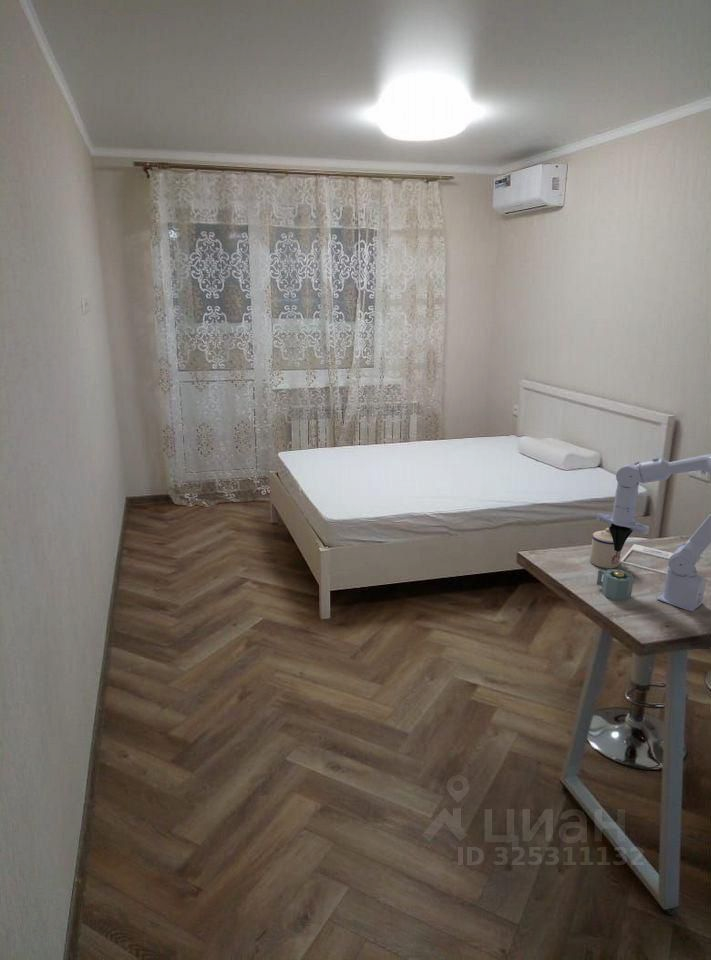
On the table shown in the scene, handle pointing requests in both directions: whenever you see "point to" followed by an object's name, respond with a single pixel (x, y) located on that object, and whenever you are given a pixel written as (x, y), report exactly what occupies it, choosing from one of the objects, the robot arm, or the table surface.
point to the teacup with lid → (604, 550)
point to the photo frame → (649, 552)
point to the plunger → (618, 574)
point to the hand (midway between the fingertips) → (618, 550)
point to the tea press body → (615, 584)
